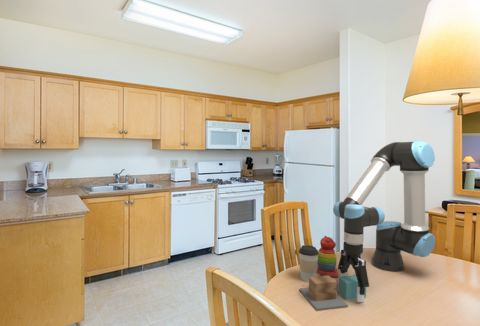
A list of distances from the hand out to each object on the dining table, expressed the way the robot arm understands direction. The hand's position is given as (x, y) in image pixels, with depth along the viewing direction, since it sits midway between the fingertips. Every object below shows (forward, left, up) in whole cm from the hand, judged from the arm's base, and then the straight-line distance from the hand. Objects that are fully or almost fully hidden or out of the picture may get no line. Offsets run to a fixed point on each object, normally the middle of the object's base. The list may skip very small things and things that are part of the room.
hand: (351, 294), depth 120 cm
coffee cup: (+11, -18, 0) cm, 21 cm away
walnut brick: (+13, 0, +1) cm, 14 cm away
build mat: (+13, 0, 0) cm, 14 cm away
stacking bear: (-1, -22, 0) cm, 22 cm away
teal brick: (0, 0, 0) cm, 0 cm away
